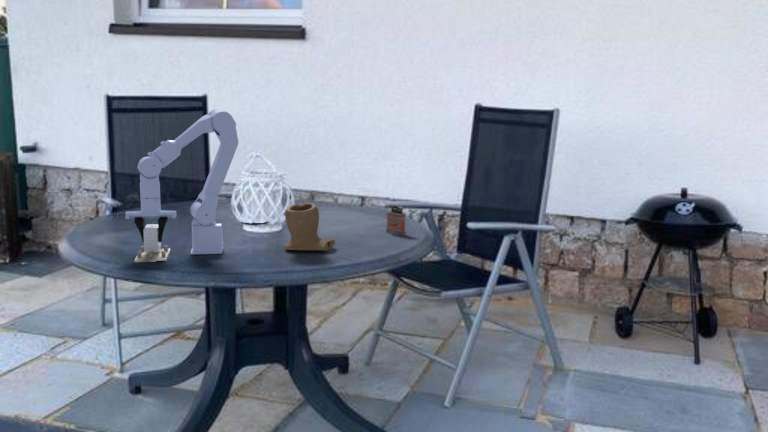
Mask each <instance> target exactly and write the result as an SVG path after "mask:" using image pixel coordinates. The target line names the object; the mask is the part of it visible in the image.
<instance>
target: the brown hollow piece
mask: <svg viewBox="0 0 768 432" xmlns="http://www.w3.org/2000/svg"><path fill="white" fill-rule="evenodd" d="M284 217H285V223H286V227H287V230H288V231H289V233H290V237H291V238H290V241H288V242H286V243H285V244H284V248H285V249H286V250H289V251H301V252H304V251H306V252H308V251H309V252H329V251H330V250H331V249H332V248H333V247H334V245H335V244H336V239H334V238H333V239H332V238H331V239H330V238H322V237H319V235H318V231H319V221H320V212H319V208H318V207H317V205H315V204H314V203H311V202H305V203H302V204H298V203H296V204H295V203H294V204H291V205H290V206H288V207H287V208H286V209H285V211H284Z"/></svg>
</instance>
